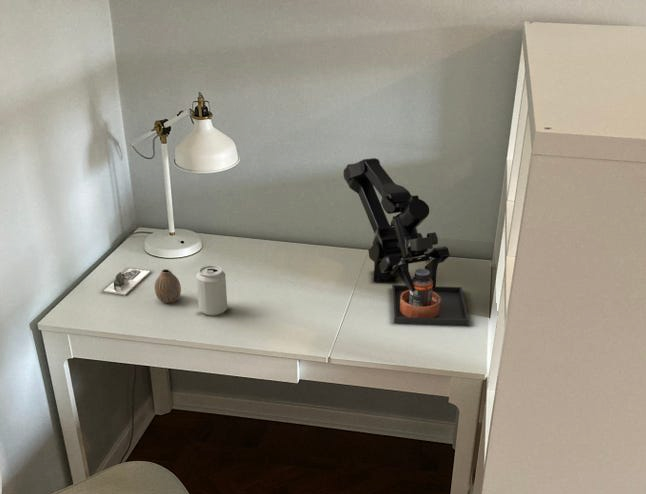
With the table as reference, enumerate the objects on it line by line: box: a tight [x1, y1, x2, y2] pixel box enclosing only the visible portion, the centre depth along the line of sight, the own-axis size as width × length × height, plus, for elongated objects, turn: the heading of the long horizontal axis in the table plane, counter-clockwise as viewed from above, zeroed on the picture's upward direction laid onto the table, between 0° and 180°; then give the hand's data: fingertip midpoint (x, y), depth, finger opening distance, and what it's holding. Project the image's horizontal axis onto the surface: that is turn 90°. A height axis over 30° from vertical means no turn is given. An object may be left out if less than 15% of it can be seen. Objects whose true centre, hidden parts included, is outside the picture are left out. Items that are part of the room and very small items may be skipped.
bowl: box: [400, 290, 441, 318], centre depth 212 cm, size 11×11×4 cm
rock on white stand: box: [103, 268, 151, 296], centre depth 223 cm, size 15×7×4 cm, turn 165°
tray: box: [391, 284, 470, 327], centre depth 215 cm, size 19×19×2 cm
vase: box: [154, 268, 182, 304], centre depth 213 cm, size 7×7×9 cm
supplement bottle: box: [409, 268, 433, 307], centre depth 210 cm, size 6×6×11 cm
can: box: [196, 264, 228, 317], centre depth 208 cm, size 8×8×12 cm
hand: (423, 289), depth 208 cm, fingers closed on supplement bottle, 6 cm apart
